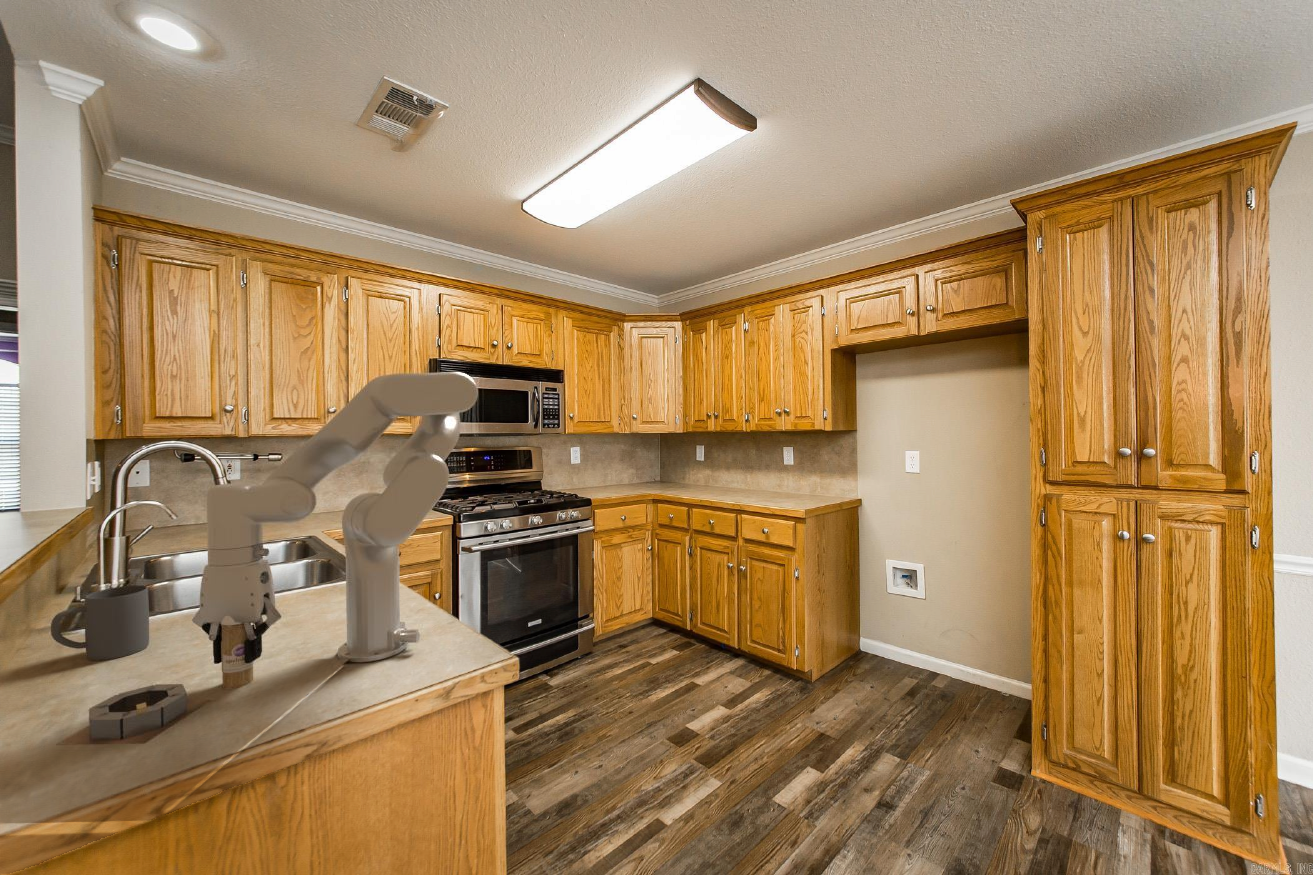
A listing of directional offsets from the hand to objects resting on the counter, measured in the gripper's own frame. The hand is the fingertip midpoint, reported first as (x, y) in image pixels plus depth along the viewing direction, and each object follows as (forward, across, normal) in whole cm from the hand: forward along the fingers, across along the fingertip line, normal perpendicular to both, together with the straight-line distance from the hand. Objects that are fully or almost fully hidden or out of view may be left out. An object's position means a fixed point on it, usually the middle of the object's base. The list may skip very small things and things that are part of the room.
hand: (237, 659), depth 95 cm
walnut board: (+5, +6, +12) cm, 14 cm away
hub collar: (+4, +6, +12) cm, 14 cm away
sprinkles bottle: (+5, 0, 0) cm, 5 cm away
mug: (+5, +36, -14) cm, 39 cm away
